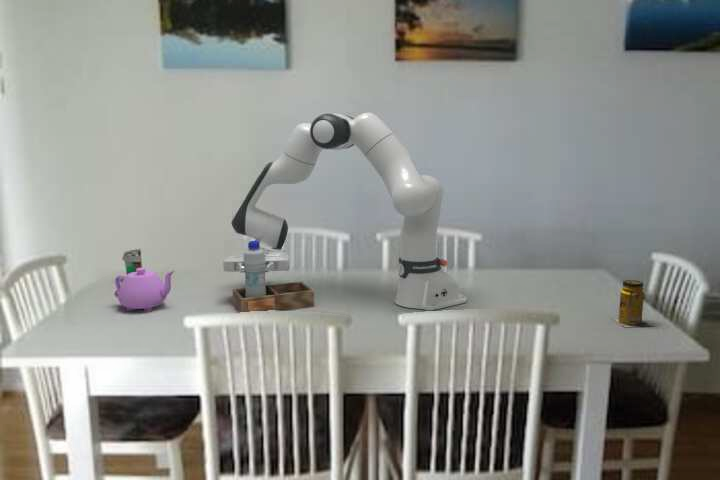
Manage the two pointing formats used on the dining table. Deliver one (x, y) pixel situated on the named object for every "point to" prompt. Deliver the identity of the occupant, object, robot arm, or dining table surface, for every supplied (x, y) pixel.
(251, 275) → the bottle
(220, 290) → the dining table surface
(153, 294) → the teapot
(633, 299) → the condiment
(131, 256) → the food container
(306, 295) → the crate
